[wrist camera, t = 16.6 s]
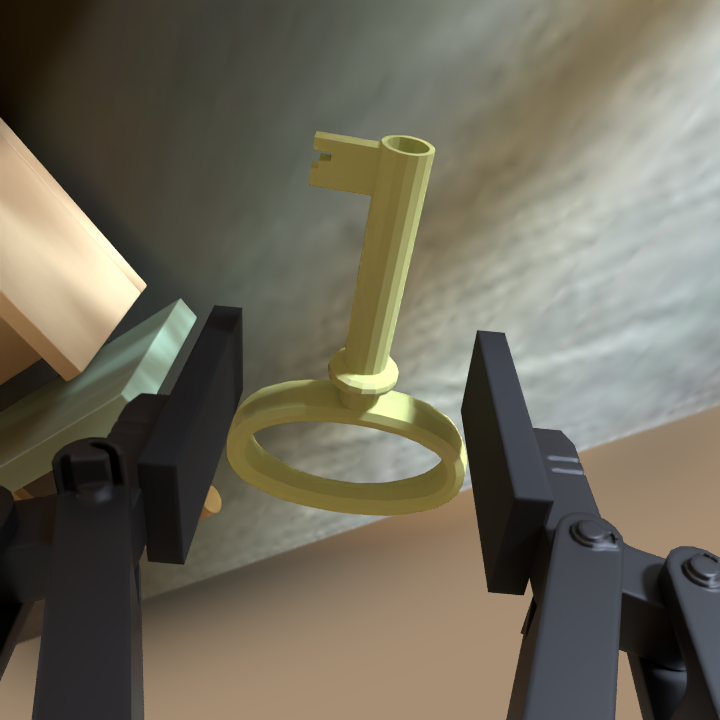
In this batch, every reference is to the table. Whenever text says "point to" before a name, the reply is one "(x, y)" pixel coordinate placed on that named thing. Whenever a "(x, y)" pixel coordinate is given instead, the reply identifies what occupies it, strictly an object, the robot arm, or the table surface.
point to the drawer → (68, 323)
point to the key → (361, 348)
